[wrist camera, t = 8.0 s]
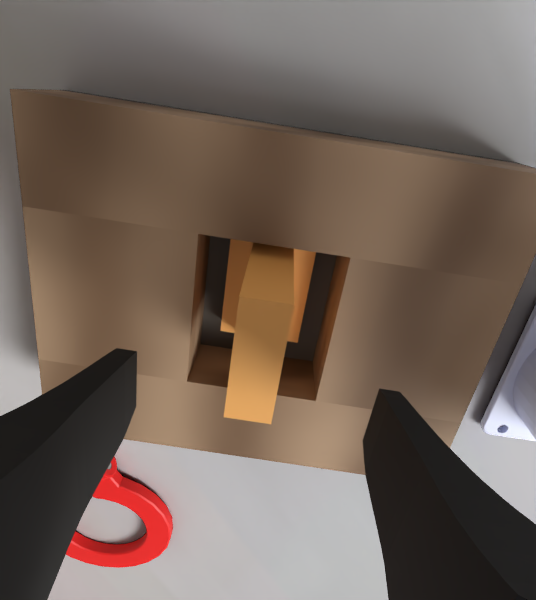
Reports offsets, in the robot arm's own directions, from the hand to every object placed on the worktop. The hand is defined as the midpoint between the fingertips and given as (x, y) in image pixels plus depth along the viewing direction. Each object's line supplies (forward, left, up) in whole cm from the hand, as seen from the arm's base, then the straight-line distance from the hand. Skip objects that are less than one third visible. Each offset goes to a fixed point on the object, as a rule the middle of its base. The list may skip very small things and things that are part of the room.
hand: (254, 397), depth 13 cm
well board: (0, 0, -8) cm, 8 cm away
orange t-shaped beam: (0, -1, -7) cm, 7 cm away
